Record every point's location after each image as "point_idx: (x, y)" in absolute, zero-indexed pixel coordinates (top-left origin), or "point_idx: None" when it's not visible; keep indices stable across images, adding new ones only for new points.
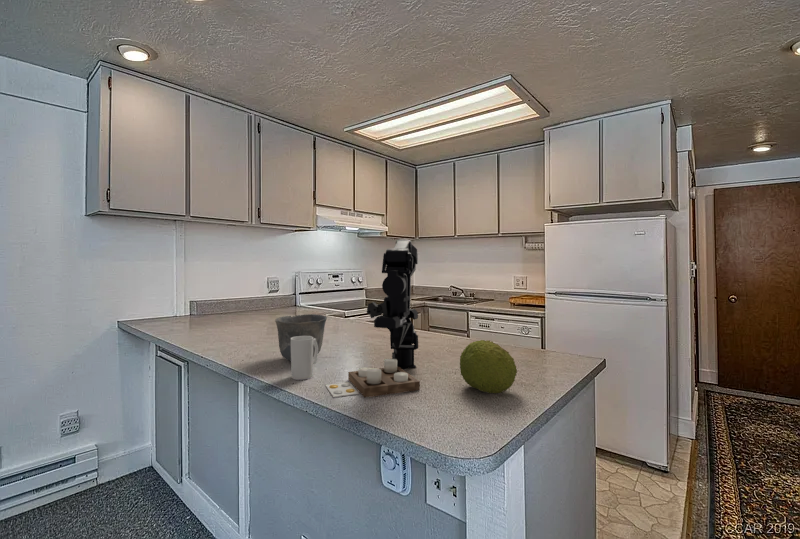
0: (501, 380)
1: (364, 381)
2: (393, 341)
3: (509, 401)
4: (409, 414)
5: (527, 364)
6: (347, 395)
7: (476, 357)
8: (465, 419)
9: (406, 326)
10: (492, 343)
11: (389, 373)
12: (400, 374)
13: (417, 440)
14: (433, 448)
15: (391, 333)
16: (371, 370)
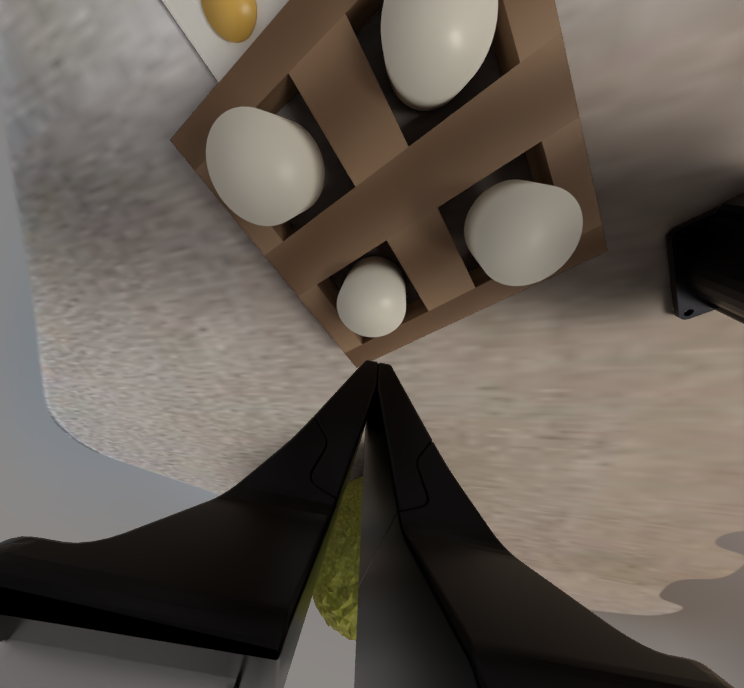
0: None
1: (299, 88)
2: (339, 390)
3: None
4: (158, 337)
5: (602, 559)
6: (172, 12)
7: (318, 579)
8: (204, 436)
9: (355, 666)
10: None
11: None
12: (364, 306)
13: (49, 363)
14: (46, 388)
15: (275, 461)
16: (247, 151)
